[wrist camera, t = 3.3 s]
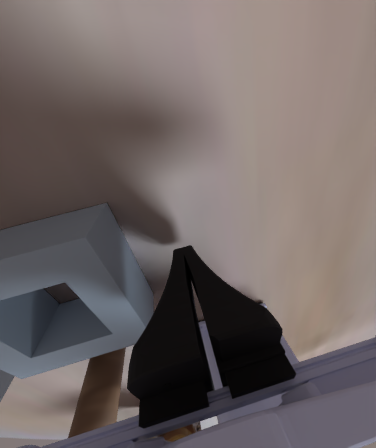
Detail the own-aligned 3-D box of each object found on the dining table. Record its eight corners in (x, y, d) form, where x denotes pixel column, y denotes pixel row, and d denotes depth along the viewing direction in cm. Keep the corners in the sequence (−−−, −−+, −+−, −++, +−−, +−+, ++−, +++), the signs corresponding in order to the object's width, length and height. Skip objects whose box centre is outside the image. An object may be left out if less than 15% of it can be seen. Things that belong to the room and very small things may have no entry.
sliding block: (107, 202, 11) (85, 237, 7) (153, 294, 16) (153, 338, 13) (-52, 243, 10) (-156, 300, 7) (50, 323, 15) (21, 379, 12)
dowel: (118, 335, 18) (98, 456, 12) (130, 349, 20) (119, 459, 14) (86, 345, 18) (47, 473, 11) (101, 357, 20) (75, 474, 13)
